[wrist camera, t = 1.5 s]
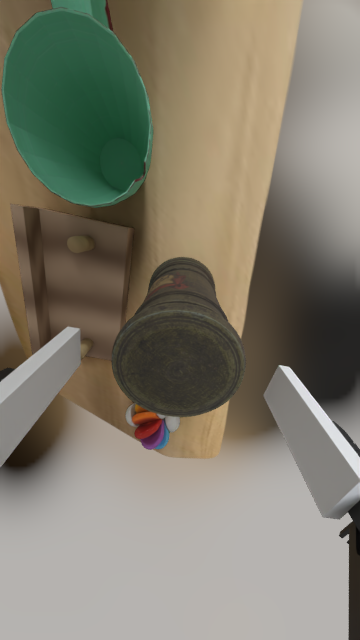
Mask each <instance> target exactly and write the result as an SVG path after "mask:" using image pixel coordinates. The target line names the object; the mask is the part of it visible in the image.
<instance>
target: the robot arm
mask: <svg viewBox="0 0 360 640" xmlns="http://www.w3.org/2000/svg"><path fill="white" fill-rule="evenodd" d="M80 364H81V345H80V329H79V328H73V327H67V328H65V329H64V330H63V331H62V332H60V333H59V334H58V335H57V336H56V337H54V338H53V339H52V340H51V341H49V342H48V343H47V344H46V345H45V346H43V347H42V348H41V349H40V350H39V351H37V352H36V353H35V354H34V355H32V356H31V357H30V358H29V359H28V360H26V361H25V362H24V363H23V364H21V365H20V366H19V367H18V368H17V369H12V368H6V369H4V370H2V371H0V467H1V466H2V464H3V463H4V462H5V461H6V459H7V458H8V457H9V455H10V454H11V453H12V451H13V450H14V449H15V448H16V446H17V445H18V444H19V443H20V441H21V440H22V439H23V437H24V436H25V435H26V434H27V432H28V431H29V430H30V428H31V427H32V426H33V425H34V423H35V422H36V421H37V419H38V418H39V417H40V416H41V414H42V413H43V411H44V410H45V409H46V408H47V406H48V405H49V404H50V403H51V401H52V400H53V399H54V398H55V396H56V395H57V394H58V392H59V391H60V390H61V389H62V387H63V386H64V385H65V383H66V382H67V381H68V380H69V378H70V377H71V376H72V374H73V373H74V372H75V371H76V369H77V368H78V367H79V365H80ZM264 398H265V400H266V402H267V404H268V406H269V408H270V410H271V412H272V414H273V416H274V418H275V420H276V422H277V424H278V426H279V428H280V430H281V433H282V435H283V436H284V439H285V441H286V443H287V445H288V447H289V449H290V451H291V453H292V455H293V457H294V459H295V461H296V463H297V466H298V467H299V470H300V472H301V474H302V476H303V478H304V480H305V482H306V484H307V486H308V488H309V490H310V492H311V494H312V496H313V498H314V501H315V503H316V505H317V507H318V509H319V511H320V513H321V515H322V517H326V518H333V519H340V518H342V517H343V516H344V515H345V514H346V513H347V512H348V513H349V515H350V516H351V518H352V520H353V522H351V523H350V524H349V525H348V526H347V527H345V528H344V529H343V530H342V531H341V532H340V535H339V536H340V537H341V538H343V537H345V536H346V535H347V534H349V540H348V541H347V543H348V544H349V640H360V449H359V448H358V447H357V445H356V444H354V443H353V441H352V439H351V438H350V437H349V436H348V434H347V433H346V432H345V431H344V430H343V429H342V428H341V427H340V426H339V425H337V424H336V423H335V422H334V421H331V420H330V418H329V417H328V416H327V415H326V413H325V412H324V411H323V409H322V408H321V407H320V406H319V404H318V403H317V402H316V400H315V399H314V398H313V397H312V396H311V394H310V393H309V391H308V390H307V389H306V388H305V386H304V385H303V384H302V383H301V381H300V380H299V379H298V377H297V376H296V375H295V373H294V372H293V371H292V370H291V368H290V367H286V366H280V365H279V366H278V368H277V370H276V372H275V374H274V376H273V378H272V379H271V381H270V384H269V385H268V387H267V389H266V391H265V393H264Z"/></svg>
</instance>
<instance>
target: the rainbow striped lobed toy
mask: <svg viewBox="0 0 360 640" xmlns="http://www.w3.org/2000/svg"><path fill="white" fill-rule="evenodd" d="M126 420H127V422H128V423H129V424H130V425H131V426H138V428H137V429H136V430H135V437H136V438H138V439H141V443H142V445H143V446H144V448H146V449H150V450H151V449H154V448H155V449H162V448H163V447H165V445H166V444H167V442H168V440H169V433H170V432H174V431H176V430H177V429H178V427H179V424H180V417H171V416H164V415H160V414H156V413H153V412H150V411H148V410H146V409H144V408H142V407H140V406H139V405H137V404H136V403H134V404H132V405H130V406H129V407H128V409H127V411H126Z"/></svg>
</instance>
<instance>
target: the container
mask: <svg viewBox="0 0 360 640" xmlns="http://www.w3.org/2000/svg"><path fill="white" fill-rule="evenodd" d="M245 365H246V358H245V351H244V347H243V344H242V341H241V339H240V337H239V335H238V334H237V332H236V331H235V329H234V328H233V327H232V326H231V324H230V323H229V322H228V320H227V317H226V315H225V313H224V312H223V310H222V309H221V307H220V305H219V302H218V300H217V298H216V292H215V284H214V280H213V277H212V274H211V272H210V271H209V270H208V268H207V267H206V266H205V265H203V264H202V263H200V262H199V261H197V260H195V259H192V258H186V257H178V258H173V259H170V260H168V261H166V262H164V263H163V264H161V265H160V266H159V267H158V268H157V269H156V270H155V272H154V273H153V275H152V277H151V280H150V284H149V289H148V294H147V296H146V298H145V300H144V302H143V304H142V305H141V306H140V307H139V309H138V310H137V312H136V313H135V315H134V316H133V317H132V318H131V319H130V320H129V321H128V322H127V323H126V324H125V325H124V326H123V327H122V329H121V330H120V332H119V333H118V335H117V337H116V339H115V342H114V345H113V349H112V369H113V373H114V376H115V379H116V381H117V383H118V385H119V387H120V388H121V390H122V391H123V392H124V393H125V395H126V396H127V397H128V398H129V399H130V400H132V401H133V402H134V403H136V404H137V405H139V406H140V407H142V408H144V409H146V410H148V411H150V412H153V413H156V414H160V415H164V416H171V417H189V416H195V415H200V414H203V413H206V412H209V411H212V410H214V409H216V408H218V407H220V406H221V405H223V404H224V403H226V402H227V401H228V400H229V399H230V398H231V397H232V396H233V395H234V394H235V392H236V391H237V389H238V388H239V386H240V384H241V382H242V379H243V376H244V372H245Z"/></svg>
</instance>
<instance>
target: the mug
mask: <svg viewBox="0 0 360 640" xmlns="http://www.w3.org/2000/svg"><path fill="white" fill-rule="evenodd" d="M51 3H52V8H53V9H50V10H46V11H42V12H38V13H35V14H34V15H33V16H32V17H31V18H30V19H29V20H28V21H27V22H26V23H25V24H24V25H23V26H21V27H20V28H19V29H18V30H17V31H16V33H15V35H14V38H13V40H12V42H11V45H10V47H9V49H8V52H7V54H6V56H5V59H4V69H3V79H2V97H3V103H4V110H5V116H6V122H7V125H8V127H9V130H10V132H11V135H12V138H13V140H14V143H15V145H16V148H17V151H18V152H19V154H20V155H21V157H22V158H23V160H24V161H25V163H26V164H27V166H28V167H29V169H30V170H31V172H32V173H33V175H34V176H35V177H36V178H37V179H39V180H40V181H41V182H42V183H43V184H44V185H45V186H46V187H47V188H48V189H49V190H50V191H51V192H52V193H54V194H56V195H58V196H60V197H61V198H63V199H65V200H67V201H69V202H70V203H73V204H78V205H83V206H88V207H93V208H98V207H104V206H110V205H115V204H117V203H119V202H120V201H122V200H125V199H127V198H128V197H130V196H132V195H133V194H135V193H136V192H137V190H138V189H139V187H140V186H141V185H142V183H143V182H144V181H145V178H146V175H147V172H148V170H149V167H150V163H151V152H152V141H153V125H152V118H151V112H150V105H149V98H148V95H147V91H146V89H145V86H144V84H143V81H142V79H141V76H140V74H139V71H138V69H137V66H136V64H135V61H134V60H133V58H132V57H131V55H130V54H129V53H128V51H127V50H126V49H125V47H124V46H123V44H122V43H121V42H120V40H119V39H118V37H117V36H116V35H115V33H114V32H113V28H112V23H111V18H110V13H109V8H108V2H107V0H51Z"/></svg>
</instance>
